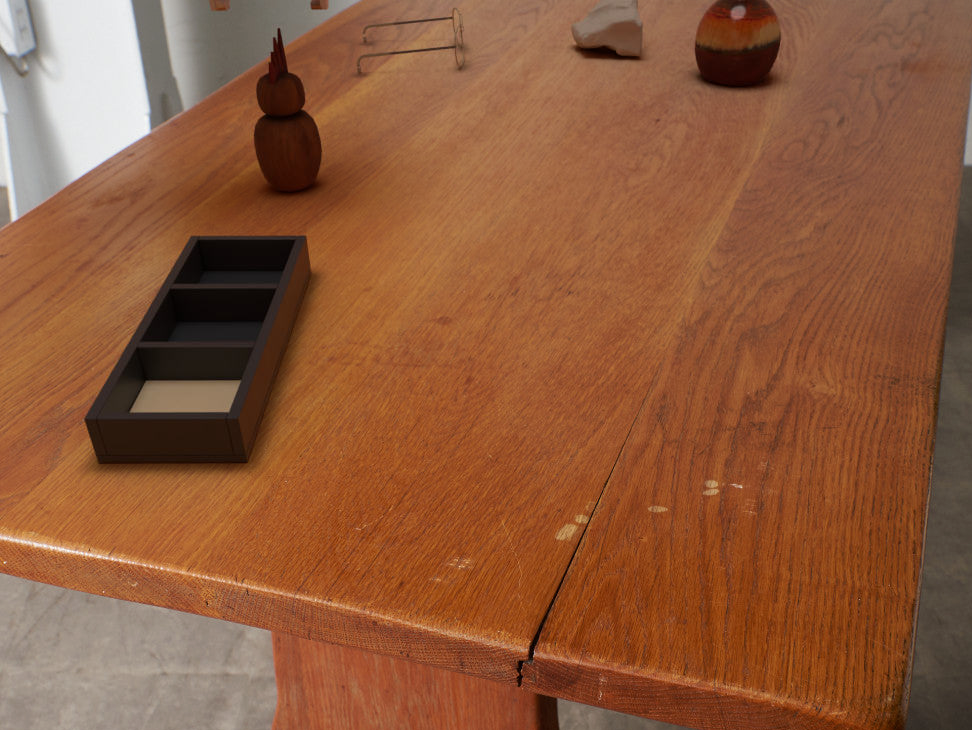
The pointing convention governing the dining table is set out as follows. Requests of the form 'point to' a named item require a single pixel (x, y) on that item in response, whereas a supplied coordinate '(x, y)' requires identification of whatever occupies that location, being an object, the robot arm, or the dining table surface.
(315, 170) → the wooden figurine
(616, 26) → the decorative stone
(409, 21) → the eyeglasses
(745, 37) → the vase
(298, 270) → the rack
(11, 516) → the dining table surface
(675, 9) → the dining table surface
